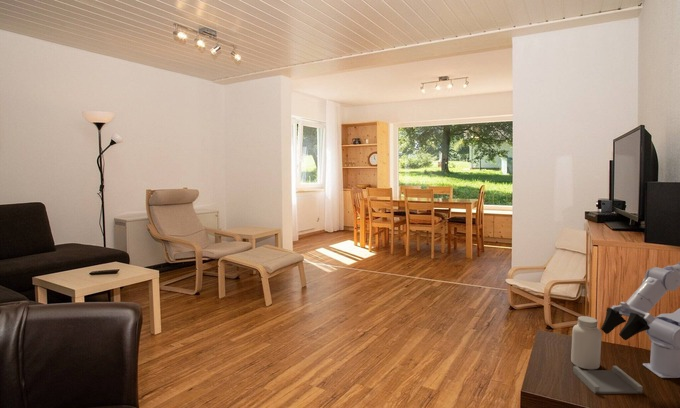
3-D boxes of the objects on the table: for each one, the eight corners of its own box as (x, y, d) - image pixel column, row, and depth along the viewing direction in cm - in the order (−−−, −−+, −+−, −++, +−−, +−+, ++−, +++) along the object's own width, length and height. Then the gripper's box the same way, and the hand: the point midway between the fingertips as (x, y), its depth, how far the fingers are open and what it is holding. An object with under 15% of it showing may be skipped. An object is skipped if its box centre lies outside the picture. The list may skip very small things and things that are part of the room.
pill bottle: (604, 371, 127) (606, 324, 125) (576, 369, 128) (577, 323, 127) (594, 359, 134) (596, 314, 133) (567, 357, 136) (568, 313, 134)
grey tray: (616, 371, 126) (616, 365, 126) (642, 393, 115) (642, 386, 115) (572, 372, 127) (573, 366, 126) (594, 393, 115) (595, 386, 115)
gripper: (615, 288, 128) (587, 319, 127) (652, 294, 114) (620, 330, 113) (631, 304, 128) (603, 336, 127) (671, 312, 114) (639, 348, 112)
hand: (612, 334), depth 120 cm, fingers open, 7 cm apart
